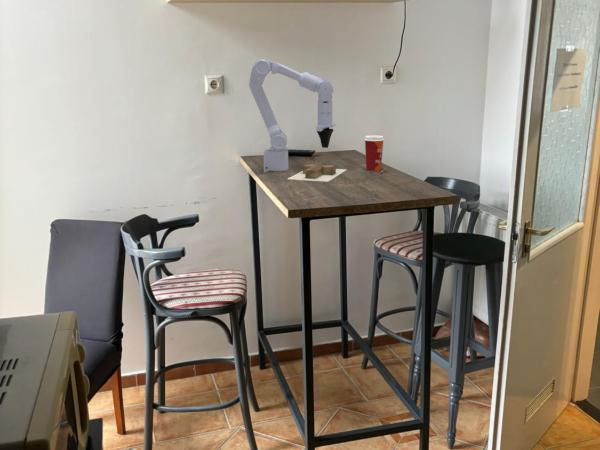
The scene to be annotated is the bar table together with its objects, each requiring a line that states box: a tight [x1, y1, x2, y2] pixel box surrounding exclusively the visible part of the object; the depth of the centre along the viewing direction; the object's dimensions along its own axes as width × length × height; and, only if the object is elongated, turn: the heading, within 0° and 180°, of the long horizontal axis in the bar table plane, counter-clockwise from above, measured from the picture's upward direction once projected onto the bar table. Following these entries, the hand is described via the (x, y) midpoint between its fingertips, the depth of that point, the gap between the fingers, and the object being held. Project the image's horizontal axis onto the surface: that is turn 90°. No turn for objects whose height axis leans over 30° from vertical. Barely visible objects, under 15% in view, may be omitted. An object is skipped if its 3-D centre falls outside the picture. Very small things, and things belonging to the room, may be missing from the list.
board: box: [287, 168, 348, 185], centre depth 226 cm, size 16×24×1 cm, turn 159°
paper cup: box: [363, 134, 385, 174], centre depth 231 cm, size 8×8×14 cm
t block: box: [302, 163, 337, 179], centre depth 223 cm, size 12×12×3 cm
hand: (325, 147), depth 234 cm, fingers closed
